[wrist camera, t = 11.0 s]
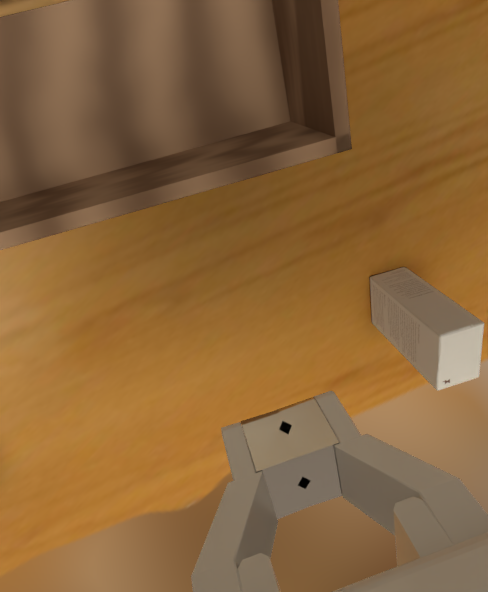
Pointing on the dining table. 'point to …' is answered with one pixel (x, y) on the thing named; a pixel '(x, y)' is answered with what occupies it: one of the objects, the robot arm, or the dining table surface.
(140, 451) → the dining table surface
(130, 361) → the dining table surface
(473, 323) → the skincare box
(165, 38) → the crate
